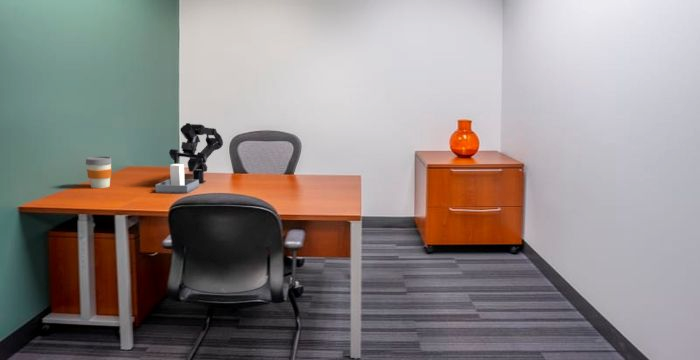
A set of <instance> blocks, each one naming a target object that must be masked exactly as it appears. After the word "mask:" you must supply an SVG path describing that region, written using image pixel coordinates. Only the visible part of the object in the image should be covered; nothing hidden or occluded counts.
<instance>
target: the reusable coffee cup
mask: <svg viewBox="0 0 700 360" xmlns="http://www.w3.org/2000/svg"><path fill="white" fill-rule="evenodd" d="M112 162H113V161H112V157H111V156H90V157H89V156H88V157H86V158H85V165H86V173H87V177H88V179H89V183H90V187H91V188H92V189H103V188H110V186H111V185H110V184H111V177H112V170H113V168H112Z"/></svg>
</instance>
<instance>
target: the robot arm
mask: <svg viewBox="0 0 700 360" xmlns="http://www.w3.org/2000/svg"><path fill="white" fill-rule="evenodd" d="M180 132H181V135H182V136H183V137H184V139H186V142H185V141H182V142H181V147H180V148H181V151H182V152H180V151H179V150H178V149H173V148H171V149H170V150H169V151H168V154H169V157H170V159H172V160H173V161H174V163H173V164H179V160H180V157H182V158H188V161H187V167H188V172H192V180H199V184H205V182H206V181H207V180H204V179H205V176H204V175H205V174H204V173H205V172H206V173H207V171H208V166H207V164H206V163H207V161H208V158H209V157H210V156H211V155H212V154H213V153H214V151H216V150H217V151H218V150H220V149H221V148H222V147H223V146H224V145H223V144H224V140H223V138H222V136H221V134H219V133H218V132H217V129H216V128H213V127H211V128H210V127H206V126H205V125H203V124H200V123H199V124H194V123H192V124H191V123H190V122H189V123H188V122H186V123H185V124H183V126H182V127H180ZM204 135H206V137H205V142H206V146H204V148H203V149H202V150H201V151H200V152H197V147H198V143H200V142H201V139H200V137H199V136H204ZM210 136H213V137H210ZM196 152H197V153H196ZM195 153H196V154H195Z"/></svg>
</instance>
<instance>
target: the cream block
mask: <svg viewBox="0 0 700 360" xmlns="http://www.w3.org/2000/svg"><path fill="white" fill-rule="evenodd" d="M169 173H170V175H169V176H170V177H169V179H171V185H185V182H184V179H185V164H184V163H178V164H174V163H172V164H170V165H169Z"/></svg>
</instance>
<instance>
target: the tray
mask: <svg viewBox="0 0 700 360" xmlns="http://www.w3.org/2000/svg"><path fill="white" fill-rule="evenodd" d="M184 182H185V185H171V178H168V179H166V180H164V181H161V182H159V183H156V184H155V185H154V186H155V194H179V193H185V194H184V195H186V194H187V193H188V194H189V193H191V192H193V191H195V190H197V189H199V188H198V187H200V183H199V180H193V178H192V179H189V178H188V179H186V178H184Z"/></svg>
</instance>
